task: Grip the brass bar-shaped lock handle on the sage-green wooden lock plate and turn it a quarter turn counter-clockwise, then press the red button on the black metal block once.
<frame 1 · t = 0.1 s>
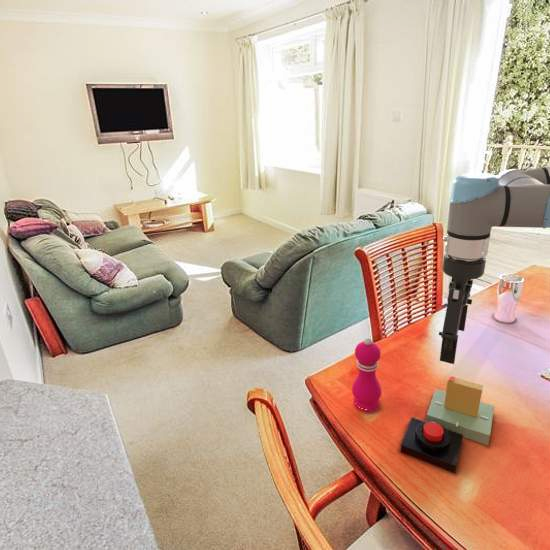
hand: (452, 344, 82), 20 cm above the table, tool pointing down, fingers open, 13 cm apart
button: (433, 431, 81), point 4 cm above the table, slide at 0.1 cm
lock plate: (459, 419, 89), on the table
beer glass: (504, 318, 126), on the table
pepper mill: (366, 404, 96), on the table
lock handle: (462, 396, 86), point 7 cm above the table, hinge at 0.0°
button block: (431, 446, 82), on the table
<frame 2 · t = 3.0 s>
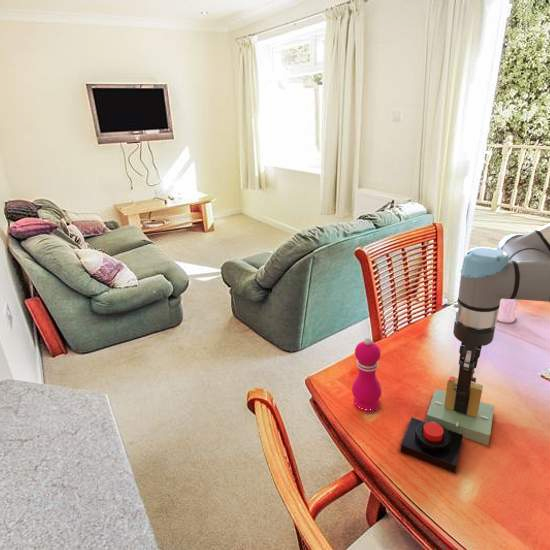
hand: (461, 407, 87), 4 cm above the table, tool pointing down, fingers closed on lock handle, 2 cm apart
lock handle: (462, 396, 86), point 7 cm above the table, hinge at -0.1°, touching gripper
everything else where it was.
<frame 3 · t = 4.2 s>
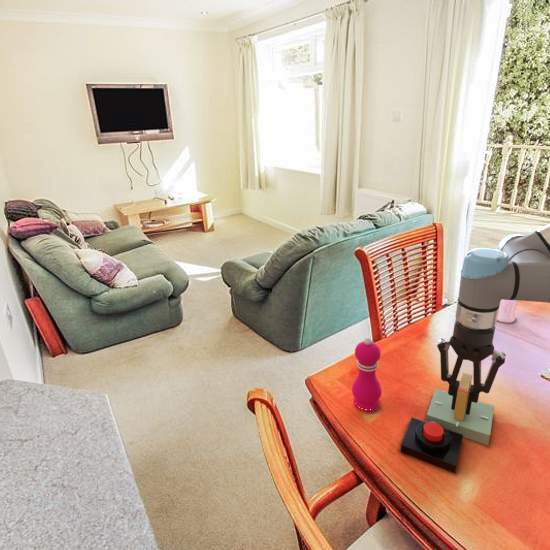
hand: (461, 408, 87), 4 cm above the table, tool pointing down, fingers open, 2 cm apart
lock handle: (462, 396, 86), point 7 cm above the table, hinge at 89.4°
everything else where it was.
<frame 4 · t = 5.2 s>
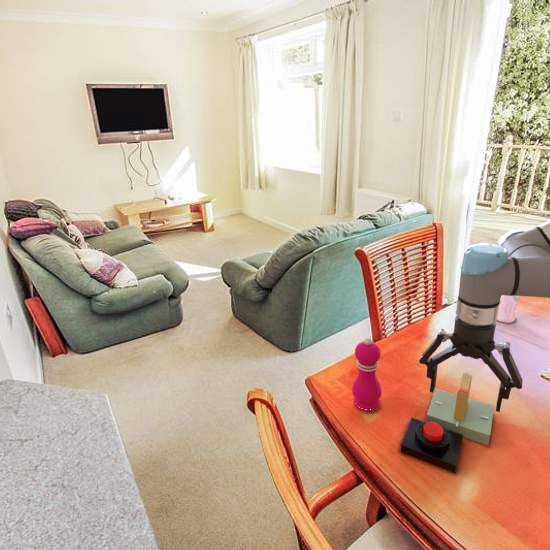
hand: (464, 398, 86), 7 cm above the table, tool pointing down, fingers open, 13 cm apart
nothing on the table moved.
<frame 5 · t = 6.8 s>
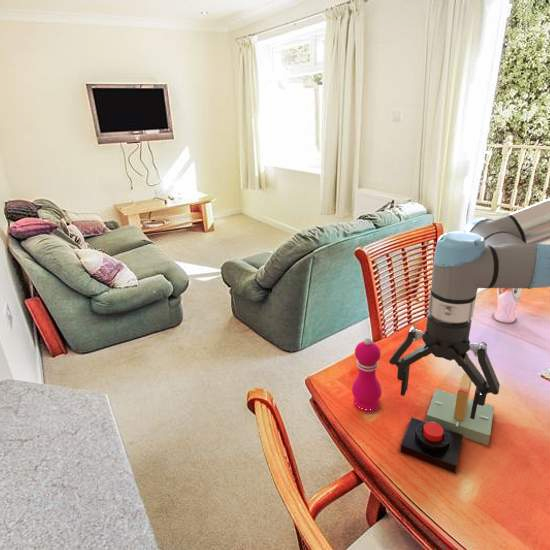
hand: (436, 402, 78), 12 cm above the table, tool pointing down, fingers open, 13 cm apart
nothing on the table moved.
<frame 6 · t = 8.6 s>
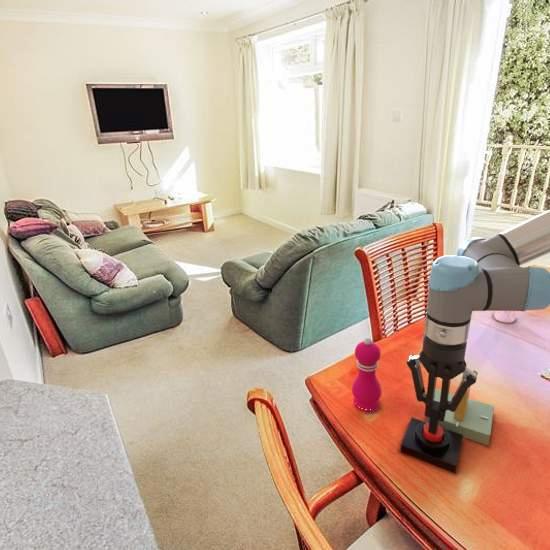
hand: (433, 428, 80), 5 cm above the table, tool pointing down, fingers closed
button: (433, 432, 81), point 4 cm above the table, slide at 0.0 cm, touching gripper
everything else where it was.
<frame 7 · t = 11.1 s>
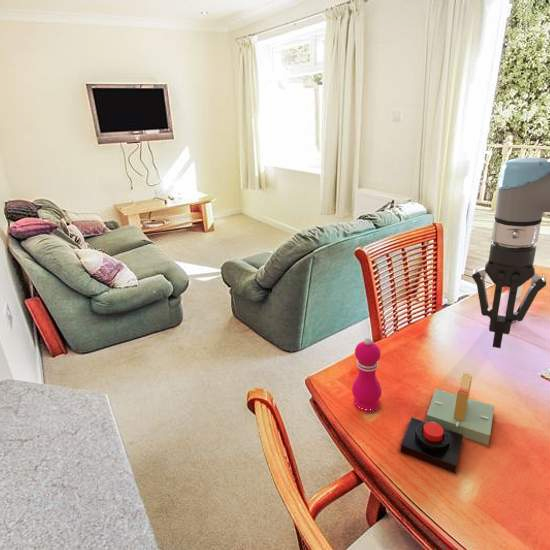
hand: (496, 344, 81), 20 cm above the table, tool pointing down, fingers closed
button: (433, 431, 81), point 4 cm above the table, slide at 0.1 cm
everything else where it was.
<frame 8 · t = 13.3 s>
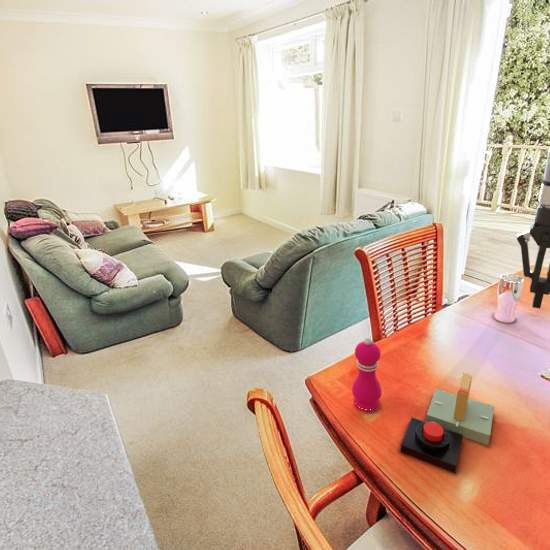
hand: (536, 305, 87), 24 cm above the table, tool pointing down, fingers closed
nothing on the table moved.
at the end: lock handle at +89° (first picture: +0°); button pushed in 1.0 cm at the most during the clip, back to where it started at the end; button slide at 0.1 cm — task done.
